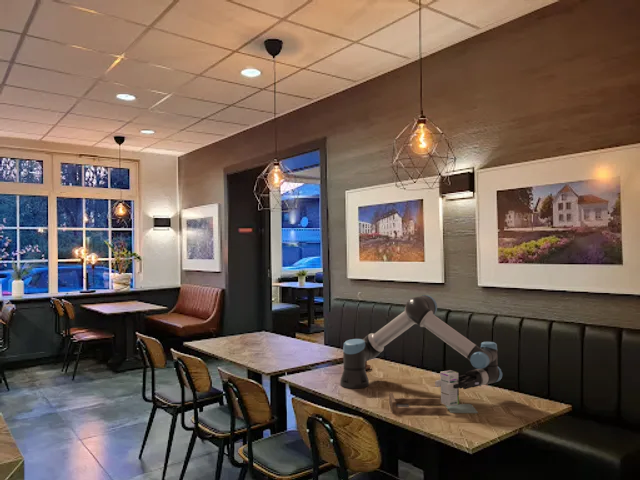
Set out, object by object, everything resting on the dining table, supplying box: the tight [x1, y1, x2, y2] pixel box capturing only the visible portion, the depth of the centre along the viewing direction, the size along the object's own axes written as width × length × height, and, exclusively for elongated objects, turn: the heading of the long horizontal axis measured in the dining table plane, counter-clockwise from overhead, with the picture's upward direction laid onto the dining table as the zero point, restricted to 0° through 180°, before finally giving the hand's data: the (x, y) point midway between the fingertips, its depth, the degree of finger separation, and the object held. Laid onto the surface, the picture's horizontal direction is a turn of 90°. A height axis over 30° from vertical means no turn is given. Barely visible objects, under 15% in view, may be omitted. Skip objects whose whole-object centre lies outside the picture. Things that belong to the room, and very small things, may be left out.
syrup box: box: [439, 369, 460, 406], centre depth 223 cm, size 6×6×14 cm
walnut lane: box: [388, 391, 448, 415], centre depth 224 cm, size 24×15×5 cm, turn 87°
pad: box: [445, 403, 479, 414], centre depth 223 cm, size 12×12×1 cm
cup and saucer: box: [365, 361, 372, 371], centre depth 299 cm, size 12×12×6 cm
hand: (441, 385), depth 220 cm, fingers closed on syrup box, 6 cm apart
